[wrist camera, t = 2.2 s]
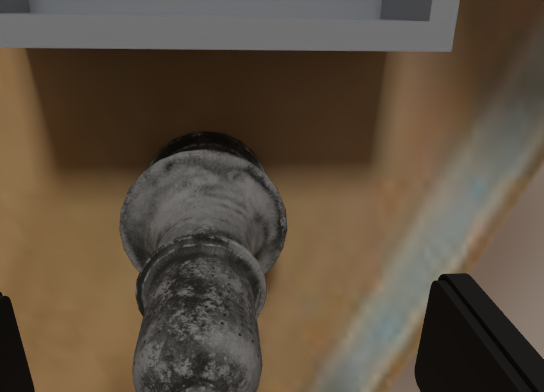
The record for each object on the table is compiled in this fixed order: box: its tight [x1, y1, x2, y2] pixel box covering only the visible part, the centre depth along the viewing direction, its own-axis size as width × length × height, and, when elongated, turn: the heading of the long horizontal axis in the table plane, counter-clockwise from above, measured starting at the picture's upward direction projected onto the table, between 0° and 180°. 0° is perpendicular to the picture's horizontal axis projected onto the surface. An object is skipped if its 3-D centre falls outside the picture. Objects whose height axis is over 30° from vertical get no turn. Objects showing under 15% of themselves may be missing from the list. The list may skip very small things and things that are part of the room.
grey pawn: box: [119, 132, 287, 392], centre depth 13 cm, size 6×6×12 cm
